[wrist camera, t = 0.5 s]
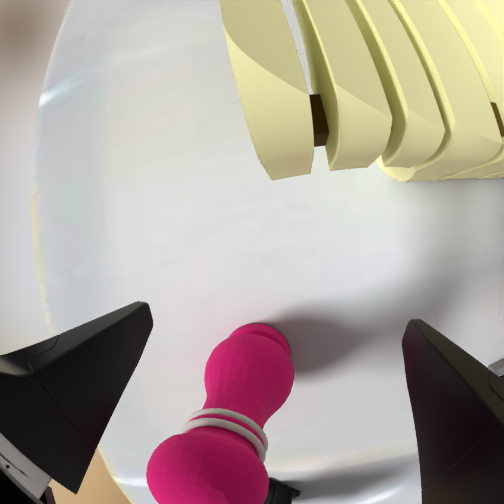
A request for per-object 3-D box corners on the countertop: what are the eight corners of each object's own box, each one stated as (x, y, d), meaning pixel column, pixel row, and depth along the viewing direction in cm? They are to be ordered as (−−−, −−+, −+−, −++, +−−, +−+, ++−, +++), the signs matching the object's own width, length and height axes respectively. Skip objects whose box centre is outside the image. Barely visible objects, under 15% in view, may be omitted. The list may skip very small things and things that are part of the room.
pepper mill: (293, 315, 24) (261, 526, 5) (297, 382, 25) (273, 572, 5) (216, 318, 25) (72, 470, 6) (226, 382, 26) (137, 543, 6)
